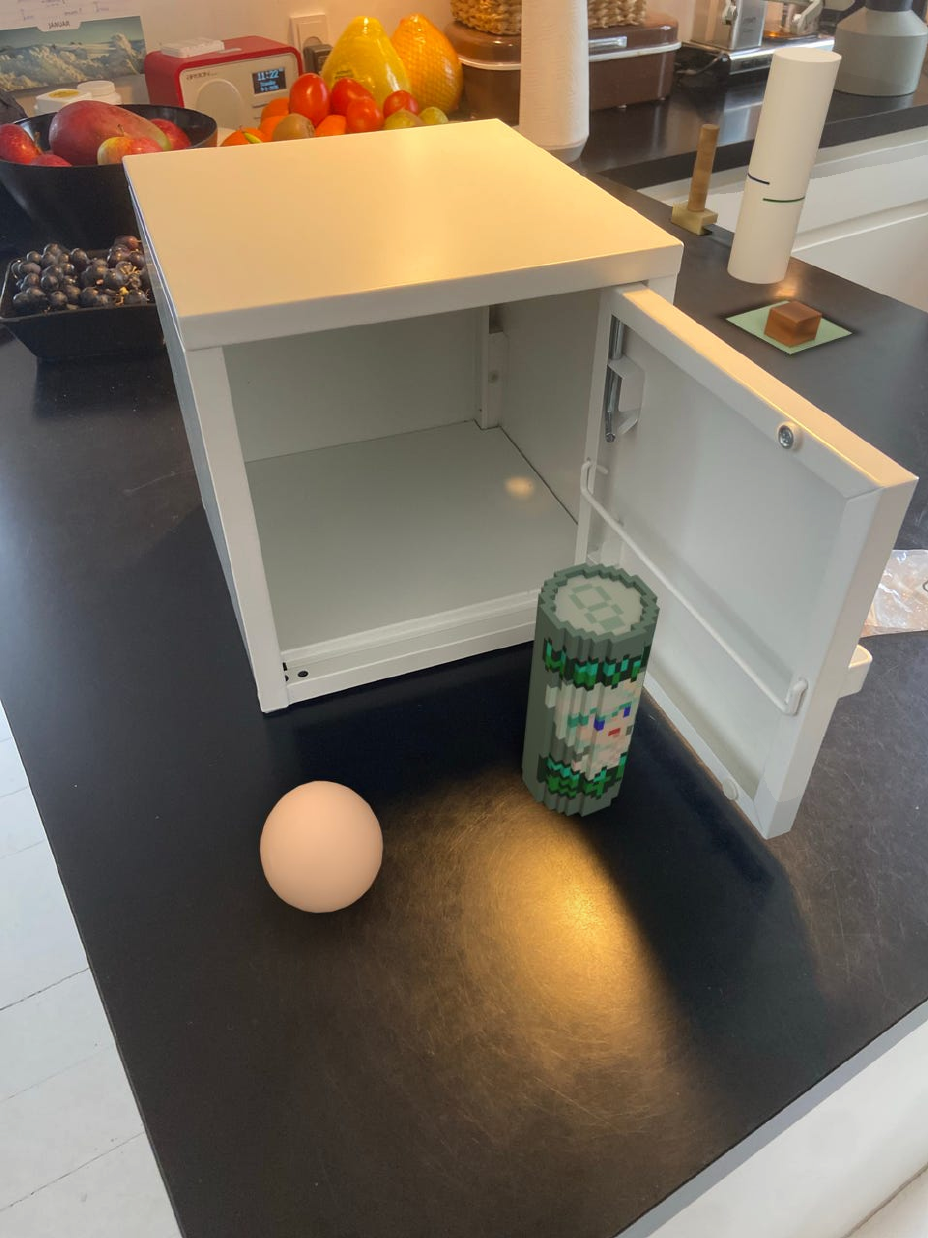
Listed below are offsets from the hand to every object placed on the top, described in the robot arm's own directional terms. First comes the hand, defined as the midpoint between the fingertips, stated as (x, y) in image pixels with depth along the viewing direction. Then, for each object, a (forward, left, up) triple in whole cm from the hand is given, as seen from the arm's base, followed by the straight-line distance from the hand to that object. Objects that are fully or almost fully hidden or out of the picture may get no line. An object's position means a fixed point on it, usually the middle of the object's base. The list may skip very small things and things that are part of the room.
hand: (760, 26), depth 122 cm
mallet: (+11, +5, -22) cm, 26 cm away
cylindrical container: (+17, +23, -23) cm, 37 cm away
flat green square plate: (+25, +36, -22) cm, 49 cm away
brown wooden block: (+27, +38, -21) cm, 51 cm away
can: (+84, +74, -23) cm, 114 cm away
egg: (+101, +73, -23) cm, 126 cm away
